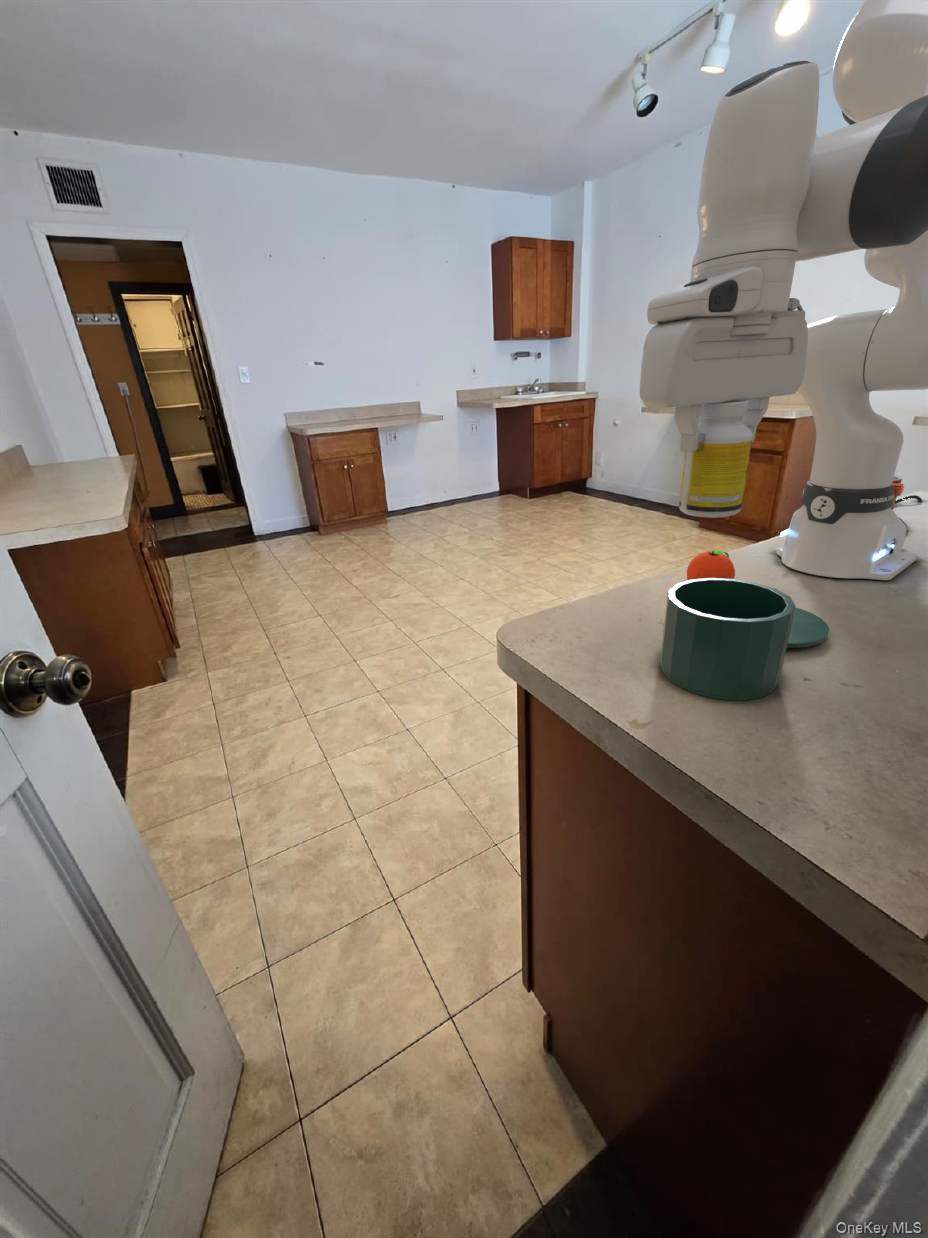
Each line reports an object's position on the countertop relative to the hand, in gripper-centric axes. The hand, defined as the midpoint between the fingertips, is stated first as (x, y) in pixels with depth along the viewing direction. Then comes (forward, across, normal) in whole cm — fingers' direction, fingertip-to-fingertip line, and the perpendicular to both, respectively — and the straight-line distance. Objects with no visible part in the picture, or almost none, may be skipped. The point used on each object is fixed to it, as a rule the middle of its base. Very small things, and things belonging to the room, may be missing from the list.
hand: (717, 447), depth 55 cm
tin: (+25, +1, +5) cm, 26 cm away
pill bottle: (+7, 0, 0) cm, 7 cm away
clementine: (+25, -18, -12) cm, 33 cm away
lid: (+24, -14, +1) cm, 28 cm away
